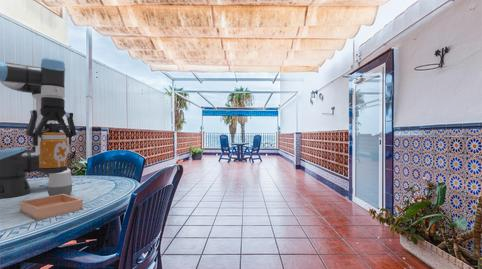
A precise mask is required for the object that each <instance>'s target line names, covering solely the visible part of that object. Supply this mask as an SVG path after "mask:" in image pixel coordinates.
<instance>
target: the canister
mask: <svg viewBox="0 0 482 269" xmlns="http://www.w3.org/2000/svg"><path fill="white" fill-rule="evenodd" d="M62 128H64V125H62V124H59V123H58V122H56V123H54V124H52V123H50V124H47V123H46V125H45V128H43V130H42V131H41V133H40V134H39V138H41V141H40V155H39V159H38V161H39V172H38V173H43V174H48V175H49V174H52V173H61V172H63V171H65V170H67V168H68V153H67V140H66V135H65V133H64V132H61V131H60V130H62Z"/></svg>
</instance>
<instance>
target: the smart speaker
mask: <svg viewBox="0 0 482 269" xmlns="http://www.w3.org/2000/svg"><path fill="white" fill-rule="evenodd" d="M72 180H73V179H72V170H71V169H70V168H68V167H67V170H65V171H63V172H61V173H52V174H48V184H47V194H48V196H54V195H59V194H66V195H70V196H71V194H72V191H73V181H72Z"/></svg>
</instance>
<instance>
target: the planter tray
mask: <svg viewBox="0 0 482 269" xmlns="http://www.w3.org/2000/svg"><path fill="white" fill-rule="evenodd" d="M83 201H84V200H83V198H79V197H75V196H72V195H71V194H70V195H66V194H59V195H54V196H49V195H48V196H45V197H38V198H34V199H33V198H32V199H27V200H22V201H19V213H21V214H23V215H26V216H27V217H29V218H31V219H33V220H35V221H40V220H45V219H47V218H52V217H56V216H60V215H65V214H69V213H73V212H77V211H81V210H83V209H84V208H83V204H84V203H83Z"/></svg>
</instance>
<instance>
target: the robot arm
mask: <svg viewBox="0 0 482 269" xmlns="http://www.w3.org/2000/svg"><path fill="white" fill-rule="evenodd" d="M40 62H41V63H40V67H39V66H32V65H25V64H19V63H12V62H6V61H2V60H1V61H0V84H2V85H3V86H4V87H6V88H8V89H11V90H14V91H17V92H20V93H30V94H31V97H32V98H33V99H34V100H35V109H33V110H30V118H29V123H28V125H27V128H26V131H25V132H26V133H25V135H26V136H28V137H31V139H32V142H31V144H32V146H31V149H28V148H27V147H25V146H23V147H22V146H21V147H13V148H12V147H11V148H5V149H0V199H6V198H7V199H10V198H17V197H21V196H25V195H29V194H30V193H32V192H31V191H32V190H31V189H32V188H31V186H30V184H29V183H30V182H28V179H27V173H40V172H39V161H38V159H39V155H40V141H41V138H39V134H40V133H41V131H42V130H43V128H45V125H46V123H47V124H50V123H52V124H54V123H57V124H62V125H64V128H61V131H62V133H65V135H66V140H67V154H69V153H70V145H71V144H72V137H76V136H77V131H76V127H75V123H74V113H73V112H68V111H67V112H66V109H65V106H66V104H65V103H66V102H65V99H64V98H66V96H65V95H66V94H65V90H66V88H65V78H66V77H65V75H66V74H65V72H66V67H65V64H66V63H65V62H64V60H61V59H58V58H53V57H44V58H42V59H41V61H40ZM63 117H66V120H67V124H68V126H67V124H66V122H65V119H64V118H63Z"/></svg>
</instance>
